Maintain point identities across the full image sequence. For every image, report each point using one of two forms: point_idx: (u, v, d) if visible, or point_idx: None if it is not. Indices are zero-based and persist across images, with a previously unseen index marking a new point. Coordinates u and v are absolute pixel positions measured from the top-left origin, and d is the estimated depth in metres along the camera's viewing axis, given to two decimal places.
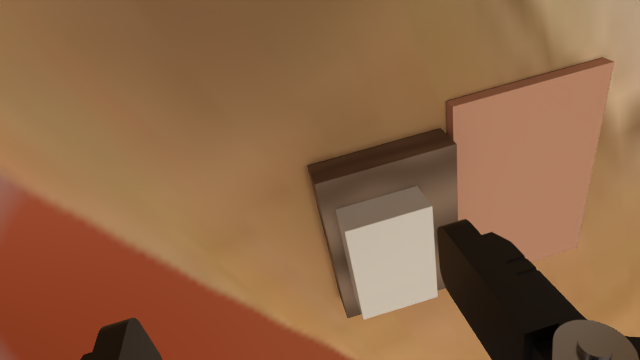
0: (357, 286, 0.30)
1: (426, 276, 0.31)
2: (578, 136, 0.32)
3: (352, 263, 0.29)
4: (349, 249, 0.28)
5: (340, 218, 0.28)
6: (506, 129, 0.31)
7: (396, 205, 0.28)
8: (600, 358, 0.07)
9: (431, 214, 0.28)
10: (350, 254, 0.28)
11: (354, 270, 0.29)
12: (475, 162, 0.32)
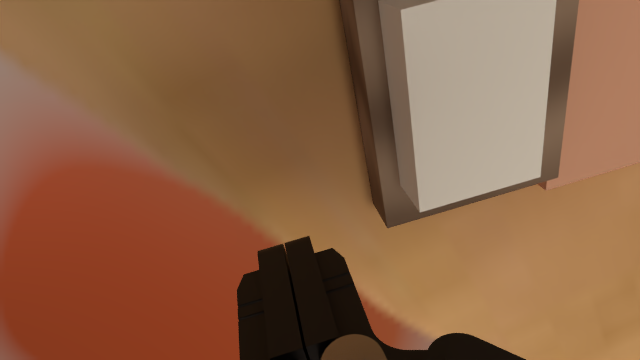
0: (414, 141, 0.18)
1: (529, 132, 0.19)
2: None
3: (409, 88, 0.16)
4: (406, 54, 0.16)
5: (389, 3, 0.16)
6: None
7: None
8: None
9: None
10: (407, 66, 0.16)
11: (412, 104, 0.17)
12: None
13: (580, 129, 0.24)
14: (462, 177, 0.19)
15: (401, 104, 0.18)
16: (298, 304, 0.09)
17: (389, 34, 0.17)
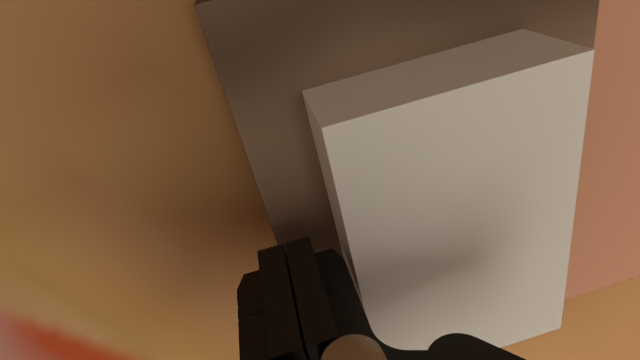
0: (366, 304, 0.11)
1: (543, 277, 0.12)
2: None
3: (350, 237, 0.10)
4: (339, 191, 0.09)
5: (312, 103, 0.10)
6: None
7: (476, 62, 0.10)
8: None
9: (587, 83, 0.09)
10: (343, 208, 0.10)
11: (356, 258, 0.10)
12: (626, 2, 0.13)
13: (592, 233, 0.18)
14: None
15: (345, 245, 0.11)
16: (298, 304, 0.09)
17: (319, 146, 0.10)
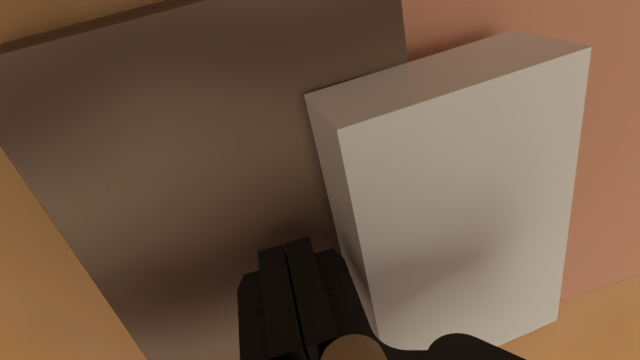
0: (376, 309, 0.11)
1: (543, 271, 0.12)
2: None
3: (362, 241, 0.10)
4: (353, 195, 0.09)
5: (319, 107, 0.10)
6: None
7: (478, 62, 0.10)
8: None
9: (584, 80, 0.10)
10: (356, 212, 0.09)
11: (368, 263, 0.10)
12: None
13: None
14: None
15: (352, 250, 0.11)
16: (298, 304, 0.09)
17: (324, 150, 0.10)
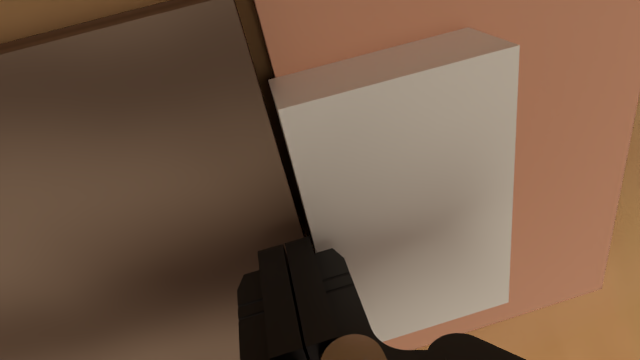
0: None
1: (488, 253, 0.13)
2: (602, 20, 0.13)
3: (307, 210, 0.11)
4: (296, 168, 0.11)
5: (275, 90, 0.11)
6: None
7: (420, 56, 0.11)
8: None
9: (515, 75, 0.11)
10: (300, 183, 0.11)
11: (314, 230, 0.12)
12: None
13: None
14: (399, 310, 0.14)
15: (307, 220, 0.13)
16: (298, 304, 0.09)
17: (282, 129, 0.12)
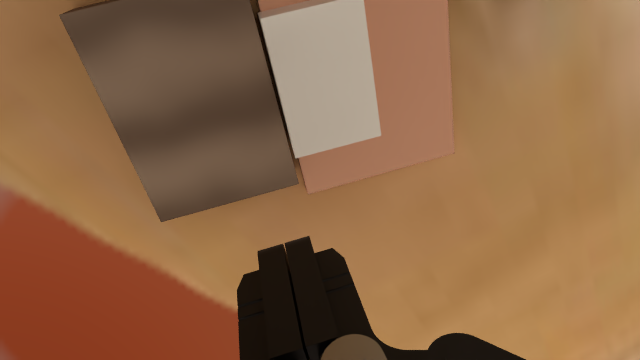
0: (283, 106, 0.26)
1: (365, 103, 0.27)
2: None
3: (274, 69, 0.25)
4: (268, 47, 0.24)
5: (259, 14, 0.25)
6: None
7: (323, 0, 0.25)
8: None
9: (363, 8, 0.24)
10: (270, 55, 0.25)
11: (277, 80, 0.25)
12: None
13: None
14: (322, 133, 0.28)
15: (275, 81, 0.27)
16: (298, 304, 0.09)
17: (263, 34, 0.26)
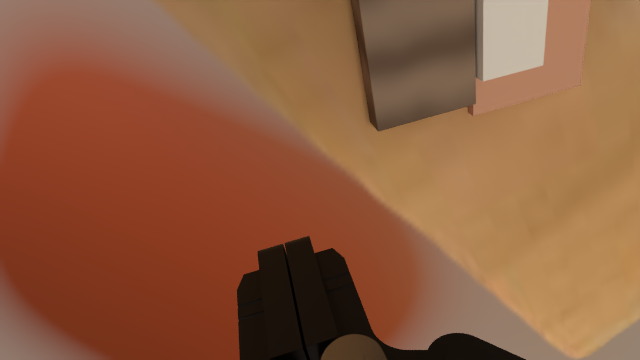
0: (484, 40, 0.37)
1: (537, 39, 0.38)
2: None
3: (484, 12, 0.36)
4: None
5: None
6: None
7: None
8: None
9: None
10: (484, 2, 0.35)
11: (484, 21, 0.36)
12: None
13: None
14: (504, 62, 0.39)
15: (477, 23, 0.37)
16: (298, 304, 0.09)
17: None
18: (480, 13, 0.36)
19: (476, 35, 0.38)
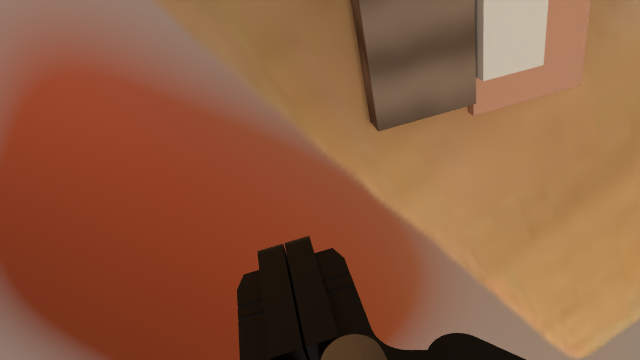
0: (484, 40, 0.37)
1: (538, 39, 0.38)
2: None
3: (484, 12, 0.36)
4: None
5: None
6: None
7: None
8: None
9: None
10: (484, 1, 0.35)
11: (484, 20, 0.36)
12: None
13: None
14: (505, 62, 0.39)
15: (477, 23, 0.37)
16: (298, 304, 0.09)
17: None
18: (480, 13, 0.36)
19: (476, 35, 0.38)
